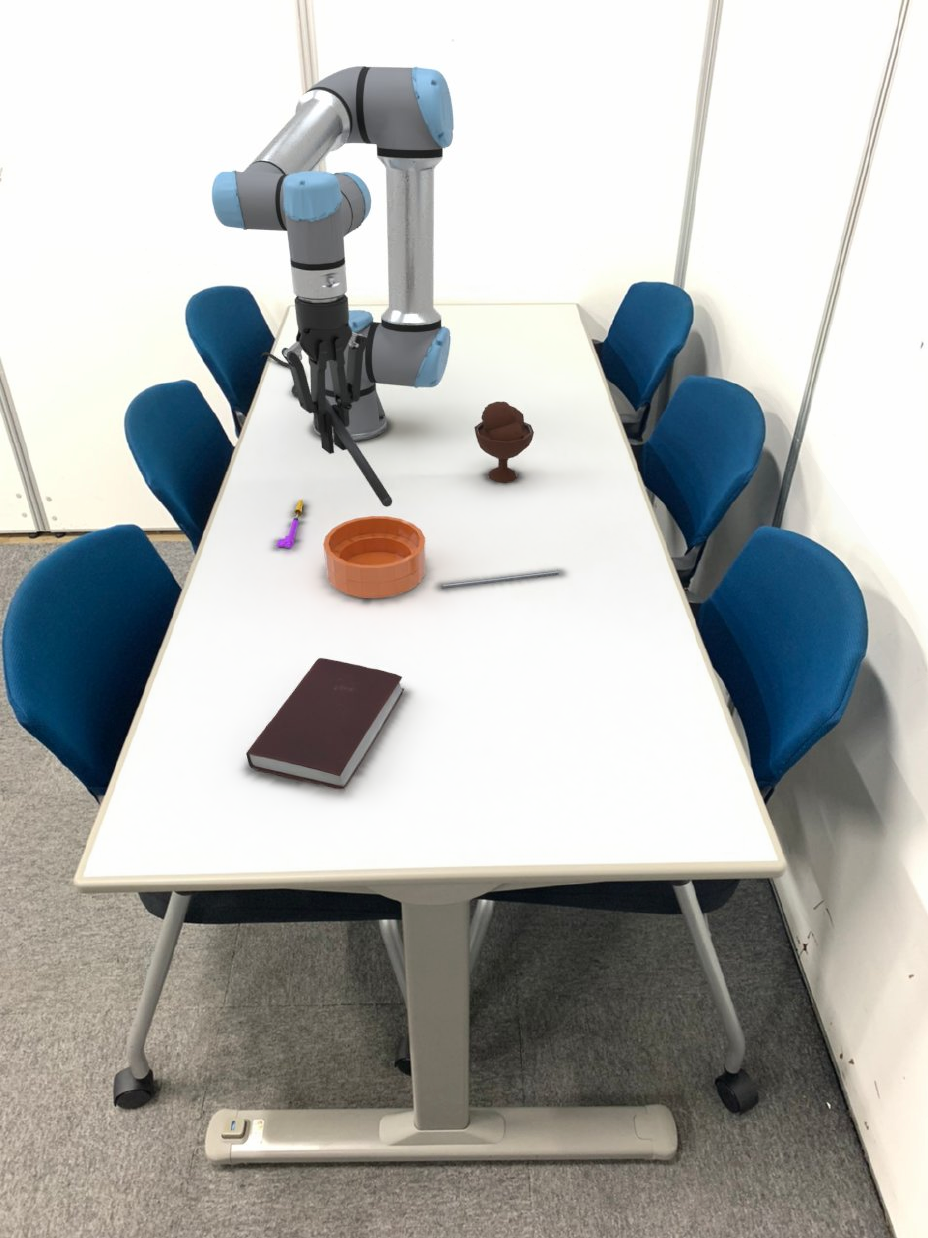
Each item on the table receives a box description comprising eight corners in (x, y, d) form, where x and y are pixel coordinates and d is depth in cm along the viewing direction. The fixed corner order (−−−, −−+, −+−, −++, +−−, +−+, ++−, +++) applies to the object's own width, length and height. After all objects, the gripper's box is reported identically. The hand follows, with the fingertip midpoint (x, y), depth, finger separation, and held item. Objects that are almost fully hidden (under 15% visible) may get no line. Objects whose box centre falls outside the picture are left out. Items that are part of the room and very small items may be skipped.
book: (247, 769, 107) (243, 749, 105) (319, 672, 122) (317, 653, 120) (343, 794, 104) (341, 775, 102) (404, 692, 118) (404, 673, 117)
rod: (440, 587, 139) (440, 583, 139) (557, 573, 143) (557, 569, 142) (441, 589, 139) (441, 586, 138) (558, 575, 142) (558, 571, 142)
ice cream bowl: (527, 491, 165) (531, 414, 156) (468, 485, 166) (468, 409, 158) (535, 466, 173) (539, 392, 164) (478, 461, 175) (480, 387, 166)
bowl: (309, 566, 143) (306, 533, 140) (393, 538, 151) (391, 507, 147) (357, 612, 133) (355, 579, 130) (444, 580, 140) (444, 547, 137)
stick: (320, 456, 143) (315, 396, 137) (329, 453, 144) (324, 394, 138) (385, 509, 130) (382, 446, 124) (394, 506, 131) (392, 443, 125)
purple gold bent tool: (293, 548, 147) (305, 502, 160) (290, 542, 147) (303, 496, 160) (277, 551, 148) (291, 505, 161) (275, 545, 147) (289, 500, 160)
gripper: (285, 310, 120) (303, 469, 134) (379, 293, 127) (386, 445, 141) (261, 296, 125) (281, 451, 139) (353, 280, 132) (363, 429, 146)
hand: (334, 448), depth 140 cm, fingers closed on stick, 1 cm apart
